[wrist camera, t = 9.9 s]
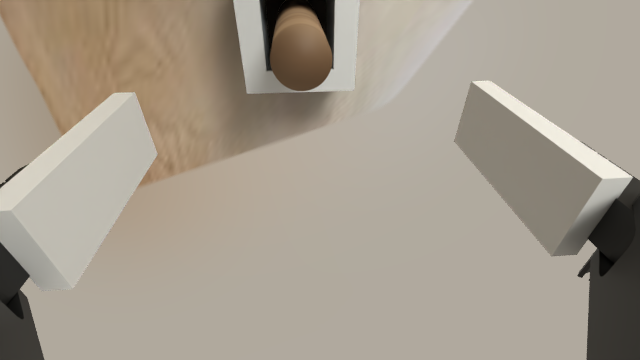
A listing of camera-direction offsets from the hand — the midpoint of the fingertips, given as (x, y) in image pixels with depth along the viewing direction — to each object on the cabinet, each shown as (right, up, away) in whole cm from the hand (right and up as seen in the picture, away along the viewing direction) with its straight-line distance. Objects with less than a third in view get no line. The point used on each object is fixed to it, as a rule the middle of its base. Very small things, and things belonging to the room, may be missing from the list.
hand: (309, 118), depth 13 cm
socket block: (-2, +14, +19) cm, 24 cm away
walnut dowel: (-2, +14, +19) cm, 24 cm away
